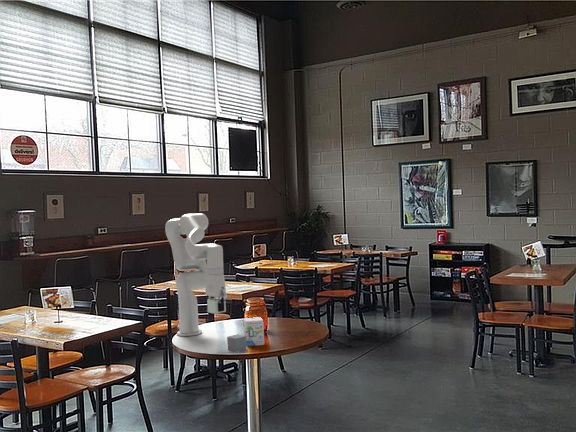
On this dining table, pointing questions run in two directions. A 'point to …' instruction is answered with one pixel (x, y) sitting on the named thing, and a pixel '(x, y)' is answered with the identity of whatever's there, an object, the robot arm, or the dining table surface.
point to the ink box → (254, 331)
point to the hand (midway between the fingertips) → (216, 310)
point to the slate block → (236, 343)
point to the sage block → (214, 305)
